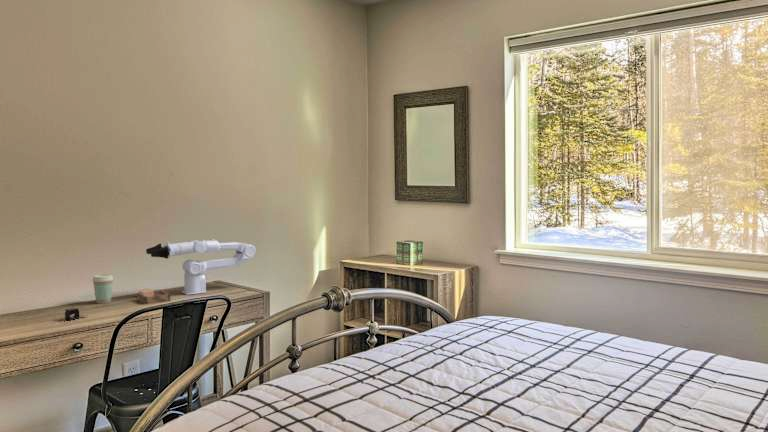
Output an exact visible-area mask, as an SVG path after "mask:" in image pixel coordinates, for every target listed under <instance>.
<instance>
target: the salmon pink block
mask: <svg viewBox="0 0 768 432" xmlns="http://www.w3.org/2000/svg"><path fill="white" fill-rule="evenodd" d="M138 293H141V294H142V295H144V296H146V297H150V296H155V290H153V289H150V288H148V289H147V288H146V289H140V290H138Z"/></svg>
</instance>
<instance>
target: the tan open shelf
mask: <svg viewBox="0 0 768 432" xmlns="http://www.w3.org/2000/svg"><path fill="white" fill-rule="evenodd" d="M137 301H139V302H140V303H142V304H144V305H149V304H151V305H152V304H156V303H157V304H159V303H164V302H165V303H166V302H171V294H170V293H169V292H166V291H164V290H159V294H157V295H154V296H150V297H146V296H144V295H142V294H141V293H139V292H138V293H137Z"/></svg>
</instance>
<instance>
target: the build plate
mask: <svg viewBox="0 0 768 432" xmlns="http://www.w3.org/2000/svg"><path fill="white" fill-rule="evenodd" d="M85 317H86V316H84V317H83V315H80V310H79V308H78V307H70V308H67V309H65V311H64V318H62V319H58V320H56V321H57V322H61V321H64V322H63V323H66V322H65V321H69V322H72V321H71V320H73V321H76V320H75V319H78V320H80V319H79V318H82V319H86V318H85Z"/></svg>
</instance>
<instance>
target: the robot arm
mask: <svg viewBox="0 0 768 432" xmlns="http://www.w3.org/2000/svg"><path fill="white" fill-rule="evenodd" d="M219 250H226V251H227V250H230V251H231V250H234V251H236V252H235V254H234V256H230V257H222V258H215V259H208V260H207V259H206V260H205V259H204V260H193V259H186V260H184V261H183V263H182V269H183V271H184V273H183V274H184V284H183V285H184V290H182V291H181V293H183V294H184V295H187V296H188V295H195V294H196V295H197V294H205V293H206V294H207V285H206V284H207V281H206V279H207V278H206V276H205V274H204V272H206V271H212V270H219V269H220V270H221V269H226V268H234V267H236V268H237V267H241V266H242V265H243V264H245V263H246V262H247V261H249V260H251V259H253V258H254V256H255V254H256V251H257V250H256V246H254V245H253V244H250V243H249V244H248V243H246V242H239V241H238V242H236V241H231V242H219V241H218V240H216V239H215V238H213V239H211V240H205V239H201V240H200V241H199V239H198V240H197V239H196V240H195V239H194V240H192V241H189V242H188V241H184V242H177V243H170V242H169V241H166V244H165V245H162V243H157V245H154V246H152V247H148V248H146V252H145V253H146V254H147V255H150V256H151V257H152V258H164V259H166V260H169V258H170V257H175V256H182V255H189V254H195V253H197V254H199V255H200V254H203V253H218V252H219Z"/></svg>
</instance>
